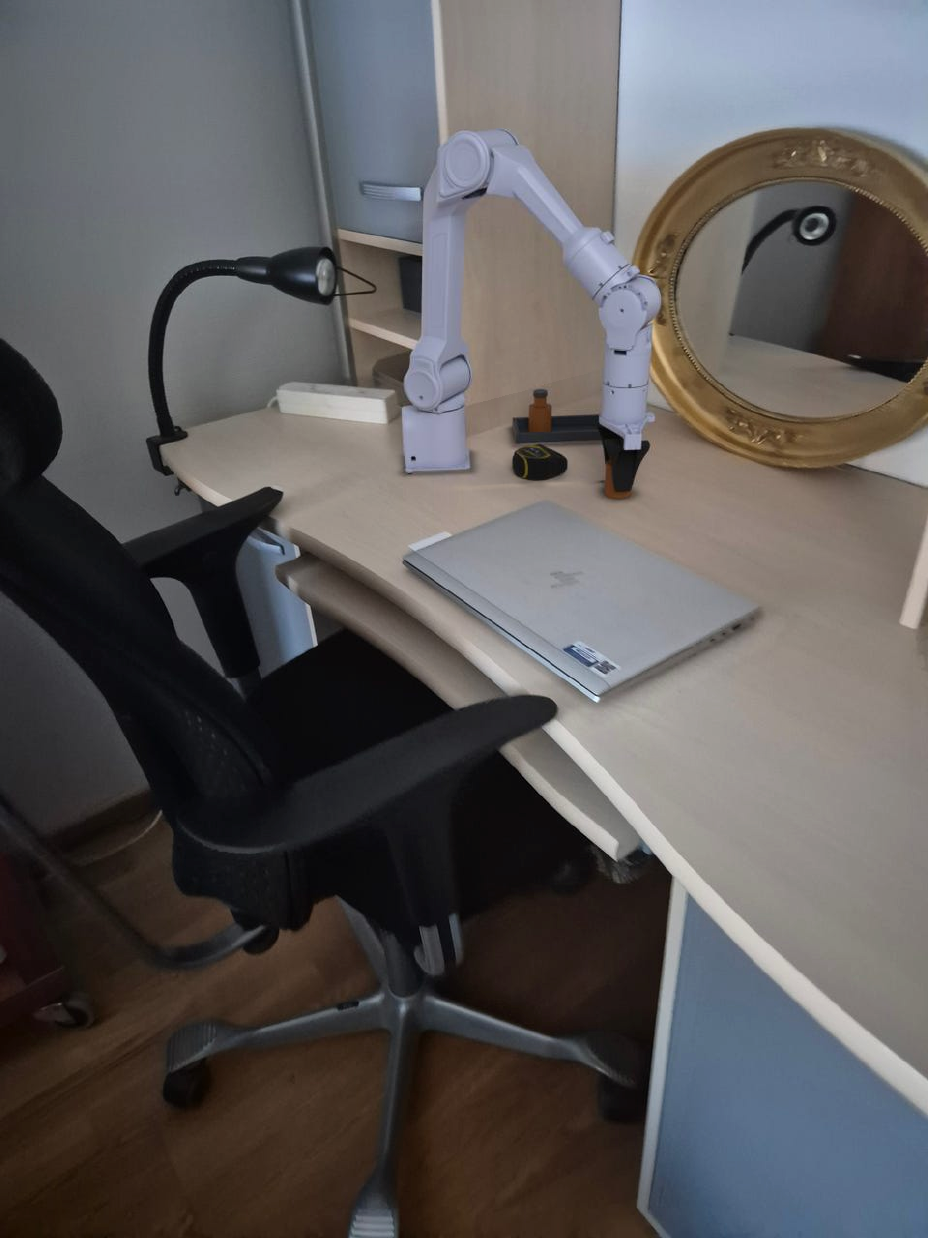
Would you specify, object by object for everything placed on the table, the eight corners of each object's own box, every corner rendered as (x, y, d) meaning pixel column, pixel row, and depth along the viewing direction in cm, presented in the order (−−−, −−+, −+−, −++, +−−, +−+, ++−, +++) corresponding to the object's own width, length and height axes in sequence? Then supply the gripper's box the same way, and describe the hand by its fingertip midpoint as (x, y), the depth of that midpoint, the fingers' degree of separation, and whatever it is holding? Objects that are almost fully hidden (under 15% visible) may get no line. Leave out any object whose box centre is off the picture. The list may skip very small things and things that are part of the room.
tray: (515, 446, 127) (515, 434, 126) (512, 429, 134) (512, 417, 133) (612, 442, 127) (613, 430, 126) (604, 425, 134) (605, 413, 133)
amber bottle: (606, 499, 108) (609, 450, 105) (602, 489, 112) (605, 440, 108) (633, 498, 108) (637, 449, 105) (628, 487, 112) (632, 439, 108)
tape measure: (569, 478, 115) (570, 453, 113) (528, 488, 112) (528, 463, 111) (543, 463, 120) (543, 439, 118) (503, 473, 118) (503, 448, 116)
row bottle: (529, 437, 129) (529, 394, 125) (527, 430, 132) (527, 387, 128) (552, 436, 129) (553, 393, 125) (549, 429, 132) (550, 387, 128)
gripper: (670, 397, 96) (659, 503, 103) (645, 365, 108) (637, 461, 115) (610, 399, 96) (604, 505, 103) (593, 367, 108) (588, 463, 115)
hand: (618, 482), depth 109 cm, fingers open, 5 cm apart
